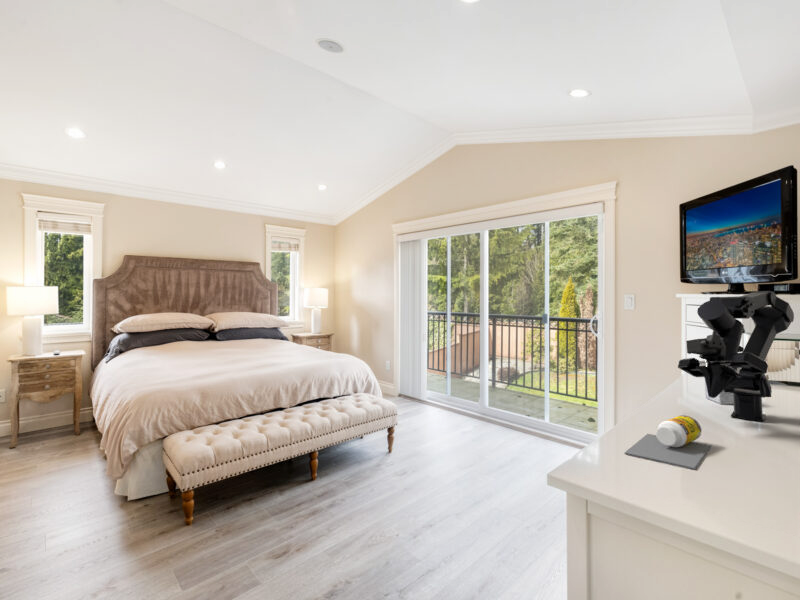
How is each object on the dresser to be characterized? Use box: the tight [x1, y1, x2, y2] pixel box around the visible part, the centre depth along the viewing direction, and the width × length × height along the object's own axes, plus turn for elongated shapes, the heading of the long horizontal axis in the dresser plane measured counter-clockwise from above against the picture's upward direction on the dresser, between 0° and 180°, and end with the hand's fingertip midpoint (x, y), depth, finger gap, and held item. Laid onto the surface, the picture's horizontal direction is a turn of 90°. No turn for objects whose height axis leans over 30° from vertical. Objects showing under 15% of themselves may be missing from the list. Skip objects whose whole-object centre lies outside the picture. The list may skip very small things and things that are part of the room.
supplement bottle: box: [655, 414, 703, 447], centre depth 87 cm, size 6×6×10 cm
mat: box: [624, 433, 712, 471], centre depth 85 cm, size 16×12×1 cm
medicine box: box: [704, 380, 734, 405], centre depth 123 cm, size 8×4×9 cm, turn 168°
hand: (711, 397), depth 96 cm, fingers closed
